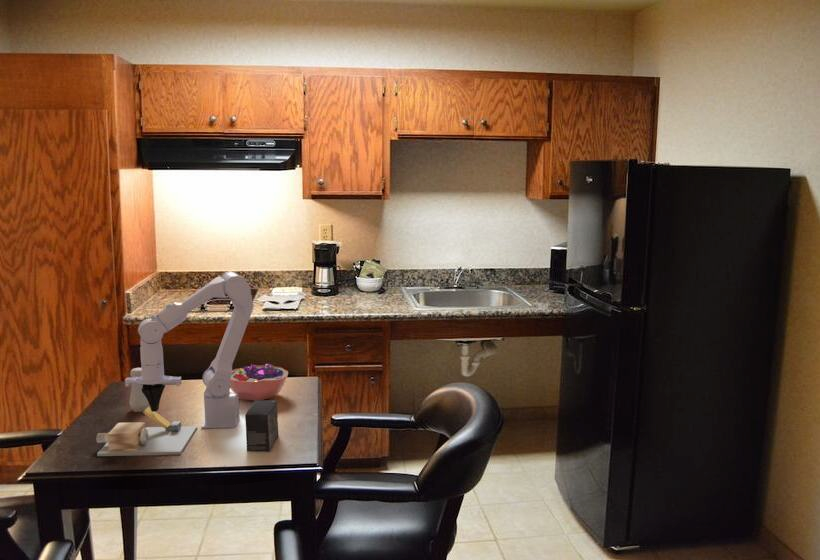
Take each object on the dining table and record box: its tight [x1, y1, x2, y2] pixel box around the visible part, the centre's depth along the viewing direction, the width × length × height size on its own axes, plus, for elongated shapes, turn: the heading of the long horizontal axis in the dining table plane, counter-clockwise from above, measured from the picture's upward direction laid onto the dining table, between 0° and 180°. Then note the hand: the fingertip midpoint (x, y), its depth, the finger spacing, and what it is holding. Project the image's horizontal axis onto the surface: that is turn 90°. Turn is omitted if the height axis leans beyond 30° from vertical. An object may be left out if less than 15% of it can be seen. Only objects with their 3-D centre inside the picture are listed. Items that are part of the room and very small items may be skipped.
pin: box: [95, 429, 148, 445], centre depth 176 cm, size 12×4×4 cm, turn 94°
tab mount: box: [170, 420, 182, 432], centre depth 186 cm, size 2×3×2 cm, turn 4°
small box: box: [244, 399, 280, 453], centre depth 179 cm, size 11×6×10 cm, turn 178°
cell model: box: [230, 363, 289, 402], centre depth 214 cm, size 17×20×11 cm
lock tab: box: [142, 406, 172, 431], centre depth 186 cm, size 8×3×1 cm
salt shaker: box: [129, 367, 150, 413], centre depth 203 cm, size 6×6×13 cm
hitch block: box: [107, 421, 146, 451], centre depth 176 cm, size 7×8×5 cm
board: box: [96, 425, 198, 457], centre depth 180 cm, size 21×17×1 cm
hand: (155, 410), depth 185 cm, fingers closed
